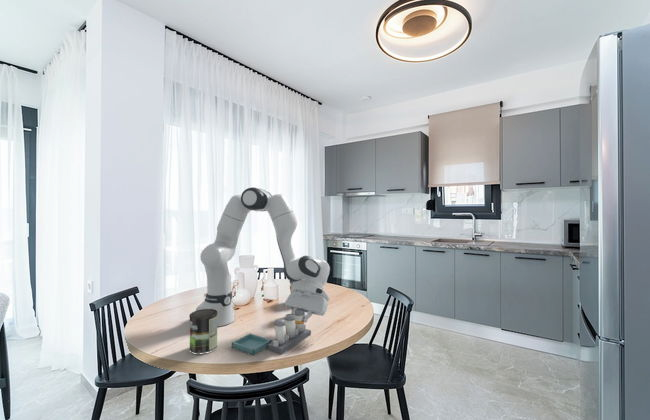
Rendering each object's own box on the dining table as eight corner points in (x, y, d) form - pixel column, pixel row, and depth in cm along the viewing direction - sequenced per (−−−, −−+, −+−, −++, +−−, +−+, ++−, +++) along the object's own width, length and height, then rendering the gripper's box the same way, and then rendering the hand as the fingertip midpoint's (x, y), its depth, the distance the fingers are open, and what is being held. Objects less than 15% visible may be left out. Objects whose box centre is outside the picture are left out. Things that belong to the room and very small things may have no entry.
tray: (231, 347, 116) (231, 342, 116) (250, 338, 124) (250, 333, 124) (253, 355, 109) (253, 349, 109) (271, 344, 118) (271, 339, 118)
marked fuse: (293, 332, 125) (293, 311, 125) (298, 328, 129) (298, 308, 129) (300, 334, 123) (300, 312, 123) (306, 330, 127) (306, 310, 127)
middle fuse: (283, 337, 120) (283, 316, 120) (289, 334, 123) (289, 313, 123) (291, 340, 118) (291, 317, 118) (297, 336, 121) (297, 314, 121)
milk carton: (304, 318, 146) (304, 281, 146) (291, 317, 147) (291, 280, 147) (308, 313, 153) (308, 277, 153) (295, 313, 154) (295, 277, 154)
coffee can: (195, 358, 108) (195, 320, 108) (185, 348, 115) (185, 313, 115) (222, 348, 115) (222, 313, 115) (211, 340, 122) (211, 306, 122)
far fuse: (273, 344, 114) (272, 321, 114) (279, 340, 118) (279, 317, 118) (281, 346, 112) (280, 323, 112) (287, 342, 116) (287, 319, 116)
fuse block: (267, 349, 114) (267, 339, 114) (298, 331, 131) (298, 322, 131) (281, 354, 110) (281, 343, 110) (310, 334, 127) (310, 325, 127)
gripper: (290, 285, 137) (276, 312, 129) (327, 291, 127) (315, 321, 118) (296, 292, 141) (283, 319, 133) (332, 299, 131) (321, 328, 122)
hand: (298, 320), depth 126 cm, fingers closed on marked fuse, 4 cm apart
